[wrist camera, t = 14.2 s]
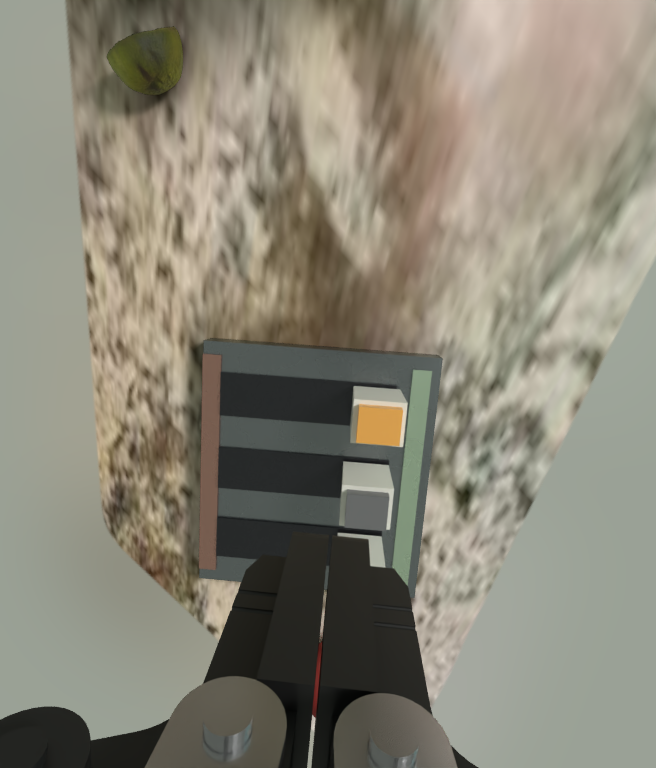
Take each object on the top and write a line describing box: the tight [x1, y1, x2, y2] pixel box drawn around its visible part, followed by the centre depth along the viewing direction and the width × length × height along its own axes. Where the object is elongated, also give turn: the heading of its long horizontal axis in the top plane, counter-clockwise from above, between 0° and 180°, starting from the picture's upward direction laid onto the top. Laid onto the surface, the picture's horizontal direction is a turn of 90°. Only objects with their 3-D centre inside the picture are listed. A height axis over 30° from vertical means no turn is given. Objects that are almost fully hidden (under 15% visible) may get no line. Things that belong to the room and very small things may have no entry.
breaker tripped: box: [350, 386, 408, 447], centre depth 32 cm, size 3×4×5 cm
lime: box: [107, 26, 183, 95], centre depth 31 cm, size 4×5×5 cm
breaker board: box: [199, 338, 443, 598], centre depth 38 cm, size 20×18×2 cm
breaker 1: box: [339, 461, 394, 531], centre depth 33 cm, size 3×4×5 cm
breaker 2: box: [337, 533, 386, 568], centre depth 35 cm, size 3×4×5 cm
